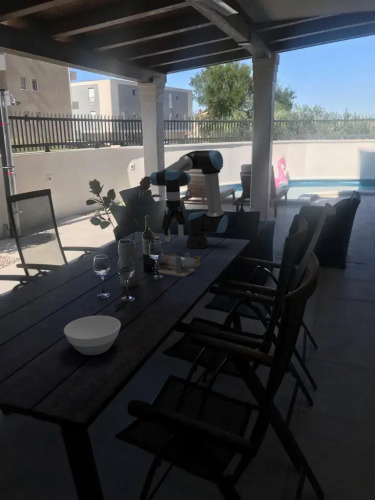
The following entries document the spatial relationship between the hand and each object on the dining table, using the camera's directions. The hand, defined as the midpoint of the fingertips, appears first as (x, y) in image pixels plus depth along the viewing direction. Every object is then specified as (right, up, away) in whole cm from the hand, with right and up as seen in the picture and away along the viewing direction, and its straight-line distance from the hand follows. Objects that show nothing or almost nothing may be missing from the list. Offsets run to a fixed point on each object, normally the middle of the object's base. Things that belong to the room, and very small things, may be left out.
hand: (174, 238), depth 233 cm
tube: (0, -15, +4) cm, 16 cm away
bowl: (-26, -41, -81) cm, 95 cm away
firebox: (-1, -18, +5) cm, 19 cm away
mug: (-14, -11, +33) cm, 37 cm away
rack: (+4, -14, +18) cm, 24 cm away
